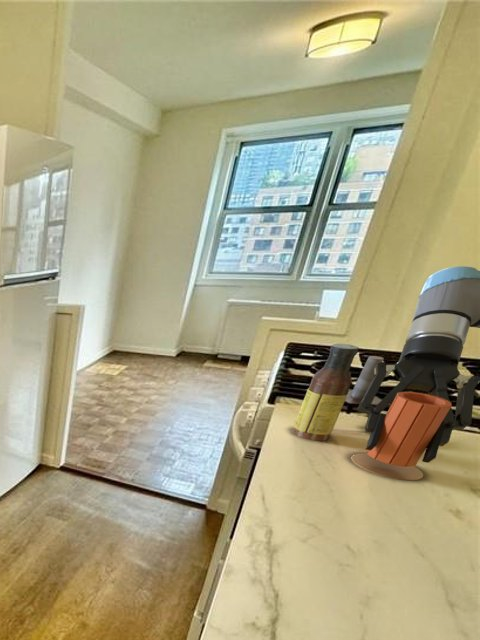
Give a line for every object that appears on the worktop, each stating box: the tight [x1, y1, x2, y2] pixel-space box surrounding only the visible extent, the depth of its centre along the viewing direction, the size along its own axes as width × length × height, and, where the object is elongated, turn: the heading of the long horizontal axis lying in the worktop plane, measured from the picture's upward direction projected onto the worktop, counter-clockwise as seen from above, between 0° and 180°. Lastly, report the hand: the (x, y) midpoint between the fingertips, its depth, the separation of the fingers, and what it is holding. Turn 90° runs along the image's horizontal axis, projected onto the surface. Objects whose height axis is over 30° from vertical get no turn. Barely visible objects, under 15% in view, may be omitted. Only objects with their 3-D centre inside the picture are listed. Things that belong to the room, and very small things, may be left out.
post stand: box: [345, 355, 392, 406], centre depth 117 cm, size 9×9×12 cm
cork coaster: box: [350, 452, 424, 481], centre depth 92 cm, size 10×10×1 cm
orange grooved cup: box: [365, 391, 453, 467], centre depth 88 cm, size 7×7×12 cm
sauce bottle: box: [293, 343, 360, 442], centre depth 100 cm, size 6×6×20 cm
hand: (399, 453), depth 88 cm, fingers closed on orange grooved cup, 7 cm apart
